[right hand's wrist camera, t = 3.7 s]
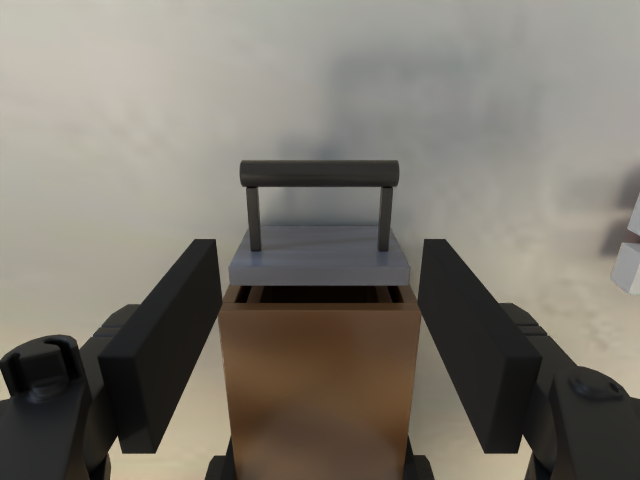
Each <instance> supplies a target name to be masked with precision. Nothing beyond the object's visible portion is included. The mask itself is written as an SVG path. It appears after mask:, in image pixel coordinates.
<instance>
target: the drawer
mask: <svg viewBox="0 0 640 480" xmlns="http://www.w3.org/2000/svg"><path fill="white" fill-rule="evenodd" d="M240 181H241V185H242V187H247V188H246V195H247V209H248V223H249V228H248V230H247V232H246V234H245V236H244V238H243V240H242V242H241V244H240V246H239V248H238V249H237V251H236V253H235V255H234V257H233V259H232V261H231V263H230V265H229V267H228V268H229V278H230V285H231V286H252V288H251V291H250V294H249V297H248V300H247V303H392V300H391V297H390V294H389V291H388V288H387V286H408V285H409V278H410V265H409V263H408V261H407V259H406V257H405V255H404V253H403V251H402V249H401V247H400V245H399V244H398V242H397V240H396V238H395V236H394V234H393V232H392V230H391V228H390V223H391V209H392V195H393V188H392V187H396V186H397V185H398V181H399V163H398V161H397V160H242V161H241V163H240ZM258 187H381V195H380V211H379V226H260V211H259V195H258Z"/></svg>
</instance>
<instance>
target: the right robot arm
mask: <svg viewBox="0 0 640 480" xmlns="http://www.w3.org/2000/svg"><path fill="white" fill-rule="evenodd" d="M222 305H223V302H222V293H221V284H220V274H219V265H218V256H217V247H216V239H195V240H194V241H193V242H192V243H191V244H190V246H189V247H188V248H187V249H186V250H185V252H184V253H183V254H182V255H181V256H180V258H179V259H178V260H177V261H176V262H175V264H174V265H173V266H172V267H171V268H170V270H169V271H168V272H167V273H166V274H165V276H164V277H163V278H162V279H161V281H160V282H159V283H158V284H157V285H156V287H155V288H154V289H153V290H152V291H151V293H150V294H149V295H148V296H147V297H146V299H145V300H144V301H143V302H142V303H141V304H128V305H126V306H125V307H123V308H121V309H120V310H118V311H116V312H115V313H113V314H112V315H111V316H110V317H109V318H108V319H107V320H106V321H105V322H104V323H103V325H102V327H101V328H99V329H98V330H97V331H96V332H95V333H94V334H93V337H91V338H90V339H89V340H88V341H87V342H86V343H85V344H84V345H83V346H82V347H81V348H80V350H79V348H78V345H77V341H76V340H75V339H74V338H72V337H71V336H67V335H51V336H44V337H41V338H37V339H34V340H31V341H28V342H26V343H24V344H22V345H19V346H17V347H16V348H14V349H13V350H11V351H10V352H8V353H7V354H5V355H4V357H3V358H2V359H1V360H0V370H1V372H2V375H3V377H4V380H5V383H6V385H7V388H8V391H9V393H10V396H11V397H10V399H6V400H2V401H0V480H110V474H111V463H110V458H109V454H108V451H109V449H110V448H111V446H112V444H113V443H114V441H115V439H116V437H117V436H118V438H119V442H120V446H121V450H122V454H155V453H156V451H157V449H158V447H159V444H160V442H161V440H162V438H163V435H164V433H165V431H166V429H167V427H168V424H169V422H170V420H171V418H172V415H173V413H174V411H175V409H176V407H177V404H178V402H179V400H180V398H181V396H182V393H183V391H184V389H185V387H186V384H187V382H188V380H189V378H190V376H191V373H192V371H193V369H194V367H195V364H196V362H197V360H198V358H199V356H200V353H201V351H202V349H203V347H204V345H205V342H206V340H207V338H208V336H209V333H210V331H211V329H212V327H213V325H214V322H215V320H216V318H217V316H218V313H219V311H220V309H221V307H222ZM417 305H418V307H419V309H420V311H421V313H422V316H423V318H424V320H425V322H426V325H427V327H428V329H429V331H430V333H431V336H432V338H433V340H434V342H435V345H436V347H437V349H438V351H439V353H440V356H441V358H442V360H443V362H444V364H445V367H446V369H447V371H448V373H449V376H450V378H451V380H452V382H453V384H454V387H455V389H456V391H457V393H458V396H459V398H460V400H461V402H462V404H463V407H464V409H465V411H466V413H467V415H468V418H469V420H470V422H471V424H472V427H473V429H474V431H475V433H476V435H477V438H478V440H479V442H480V444H481V447H482V449H483V451H484V453H485V454H518V450H519V446H520V442H521V438H522V435H524V437H525V439H526V441H527V442H528V444H529V446H530V447H531V449H532V454H531V458H530V461H529V465H528V468H527V472H526V475H525V479H524V480H640V399H637V398H633V397H630V396H629V395H628V393H627V392H626V391H625V389H624V388H623V387H622V386H621V385H620V384H618V383H617V382H616V381H614V380H613V379H612V378H610V377H608V376H606V375H604V374H602V373H600V372H598V371H596V370H592V369H589V368H586V367H581V366H577V365H576V364H575V363H574V362H573V361H572V360H571V359H570V357H569V356H568V355H567V354H566V353H565V352H564V351H563V350H562V349H561V348H560V347H559V346H558V344H557V343H556V342H555V341H554V340H553V339H552V338H551V337H550V336H547V333H546V332H545V330H544V329H543V328H542V327H541V326H539V324H538V323H537V322H536V321H535V320H534V319H533V318H532V316H531V315H530V314H529V313H528V312H526V311H524V310H523V309H521V308H519V307H518V306H516V305H514V304H513V303H498V302H497V301H496V300H495V299H494V297H493V296H492V295H491V294H490V293H489V291H488V290H487V289H486V288H485V287H484V285H483V284H482V283H481V282H480V281H479V279H478V278H477V277H476V276H475V274H474V273H473V272H472V271H471V270H470V268H469V267H468V266H467V265H466V264H465V262H464V261H463V260H462V259H461V258H460V256H459V255H458V254H457V253H456V252H455V250H454V249H453V248H452V247H451V246H450V244H449V243H448V242H447V241H446V240H445V239H424V247H423V256H422V265H421V274H420V284H419V293H418V302H417Z"/></svg>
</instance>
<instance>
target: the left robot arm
mask: <svg viewBox="0 0 640 480" xmlns="http://www.w3.org/2000/svg"><path fill="white" fill-rule="evenodd" d="M205 480H237V479H236V470H235V462H234V453H233V445H232V436H231V437H230V441H229V445H228V449H227V453H226V456H214V457H213V458H212V460H211V461H210V463H209V467H208V471H207V473H206V477H205ZM403 480H435V479H434V476H433V472H432V469H431V465H430V462H429V461H428V459H427V458H426V456H425V455H413V452H412V448H411V444H410V440H409V436H408V437H407V445H406V454H405V463H404V472H403Z"/></svg>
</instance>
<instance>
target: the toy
mask: <svg viewBox="0 0 640 480" xmlns="http://www.w3.org/2000/svg"><path fill="white" fill-rule="evenodd" d="M627 229H628V230H630V231H632V232H634V233H636V234H637V235H639V236H640V193H639V196H638V199H637V202H636V205H635V207H634V210H633V213H632V216H631V219H630V222H629V224H628V227H627ZM609 279H610V280H612V281H613V282H614V283H615V284H616V285H618V286H619V287H620V288H621V289H623V290H624V291H625V292H626V293H627V294H632V295H640V244H636V243H623V242H622V244H621V247H620V250H619V252H618V255H617V258H616V261H615V264H614V267H613V269H612V272H611V275H610V278H609Z"/></svg>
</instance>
